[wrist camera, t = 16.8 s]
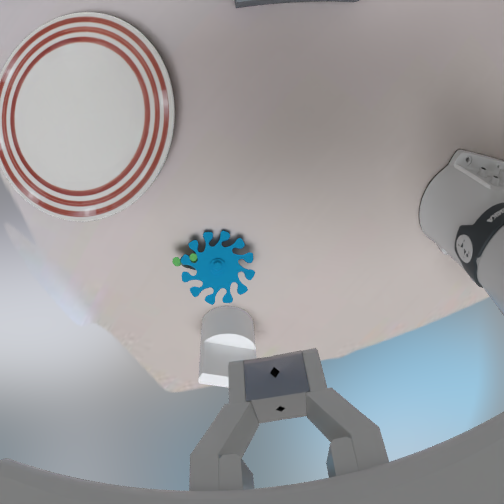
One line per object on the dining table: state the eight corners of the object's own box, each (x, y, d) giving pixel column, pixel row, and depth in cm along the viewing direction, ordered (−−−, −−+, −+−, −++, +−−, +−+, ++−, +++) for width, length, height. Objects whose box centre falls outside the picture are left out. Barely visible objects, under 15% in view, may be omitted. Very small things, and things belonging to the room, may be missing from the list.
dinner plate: (2, 196, 37) (-9, 206, 34) (13, 20, 22) (-1, 20, 19) (159, 227, 42) (155, 240, 40) (204, 24, 28) (202, 20, 25)
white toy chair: (260, 311, 53) (267, 370, 43) (244, 343, 57) (248, 398, 47) (208, 301, 51) (205, 361, 41) (197, 335, 55) (193, 391, 45)
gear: (262, 238, 42) (246, 312, 40) (257, 247, 48) (243, 312, 46) (182, 219, 42) (163, 292, 40) (186, 230, 47) (170, 295, 45)
